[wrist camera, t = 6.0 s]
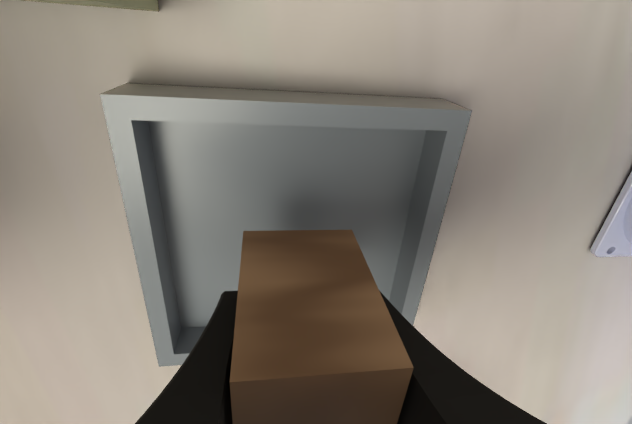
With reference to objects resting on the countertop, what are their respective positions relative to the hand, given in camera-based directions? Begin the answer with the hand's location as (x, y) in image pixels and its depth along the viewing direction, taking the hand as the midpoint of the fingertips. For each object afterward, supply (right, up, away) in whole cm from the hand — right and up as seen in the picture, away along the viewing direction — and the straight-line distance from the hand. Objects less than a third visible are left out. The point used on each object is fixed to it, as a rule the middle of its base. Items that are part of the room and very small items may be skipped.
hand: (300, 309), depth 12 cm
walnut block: (0, +1, +1) cm, 2 cm away
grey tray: (-1, +3, +5) cm, 6 cm away
